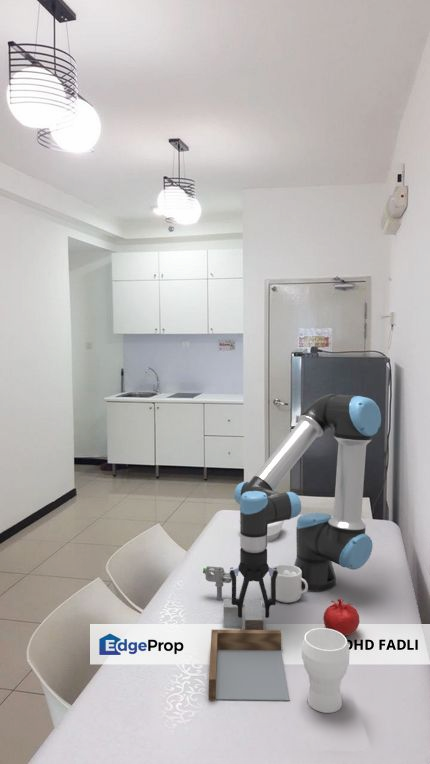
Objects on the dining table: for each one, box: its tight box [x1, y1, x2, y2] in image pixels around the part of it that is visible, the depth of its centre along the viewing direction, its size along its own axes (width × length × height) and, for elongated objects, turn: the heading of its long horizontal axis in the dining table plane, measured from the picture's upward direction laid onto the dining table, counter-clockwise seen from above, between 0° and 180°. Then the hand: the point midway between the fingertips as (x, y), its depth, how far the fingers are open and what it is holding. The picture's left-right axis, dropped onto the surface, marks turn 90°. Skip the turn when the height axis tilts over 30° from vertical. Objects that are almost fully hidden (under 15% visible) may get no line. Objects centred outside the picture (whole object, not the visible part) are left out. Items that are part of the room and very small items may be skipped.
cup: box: [301, 627, 350, 714], centre depth 124 cm, size 11×11×15 cm
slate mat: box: [215, 649, 291, 702], centre depth 135 cm, size 17×20×1 cm
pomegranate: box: [322, 598, 360, 636], centre depth 155 cm, size 10×10×9 cm
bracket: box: [222, 598, 263, 630], centre depth 156 cm, size 11×12×6 cm
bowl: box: [238, 519, 285, 543], centre depth 227 cm, size 18×18×9 cm
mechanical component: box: [202, 565, 232, 601], centre depth 174 cm, size 3×10×10 cm, turn 78°
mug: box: [271, 563, 309, 604], centre depth 175 cm, size 12×10×9 cm
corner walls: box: [208, 629, 282, 701], centre depth 136 cm, size 19×22×5 cm
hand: (253, 627), depth 154 cm, fingers closed on bracket, 5 cm apart
